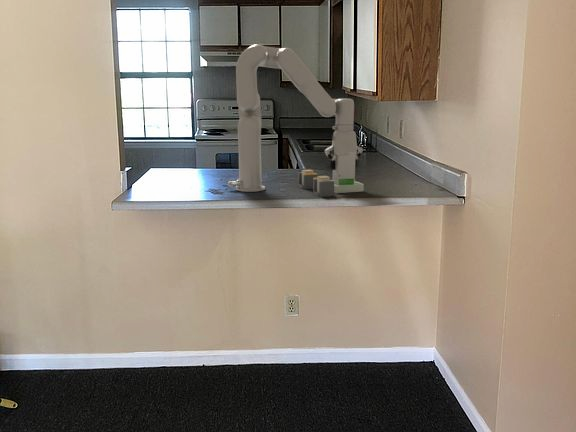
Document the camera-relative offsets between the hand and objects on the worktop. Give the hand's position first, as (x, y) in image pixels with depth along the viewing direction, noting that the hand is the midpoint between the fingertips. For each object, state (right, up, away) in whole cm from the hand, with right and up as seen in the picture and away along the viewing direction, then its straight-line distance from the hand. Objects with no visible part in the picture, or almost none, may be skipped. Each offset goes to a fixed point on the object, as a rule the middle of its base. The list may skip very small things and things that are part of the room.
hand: (343, 169), depth 261 cm
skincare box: (0, -8, +2) cm, 8 cm away
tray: (0, -9, +2) cm, 9 cm away
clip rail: (-12, -9, -1) cm, 15 cm away
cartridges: (-12, -9, -1) cm, 15 cm away
